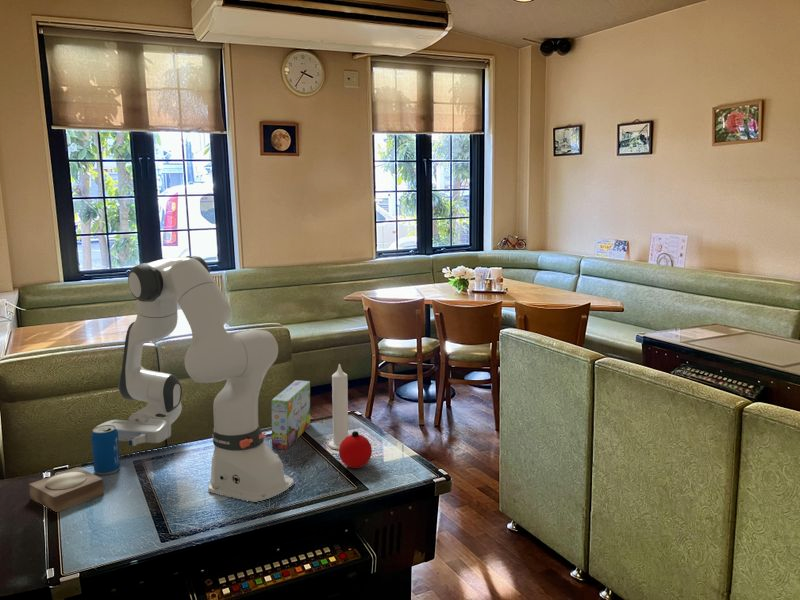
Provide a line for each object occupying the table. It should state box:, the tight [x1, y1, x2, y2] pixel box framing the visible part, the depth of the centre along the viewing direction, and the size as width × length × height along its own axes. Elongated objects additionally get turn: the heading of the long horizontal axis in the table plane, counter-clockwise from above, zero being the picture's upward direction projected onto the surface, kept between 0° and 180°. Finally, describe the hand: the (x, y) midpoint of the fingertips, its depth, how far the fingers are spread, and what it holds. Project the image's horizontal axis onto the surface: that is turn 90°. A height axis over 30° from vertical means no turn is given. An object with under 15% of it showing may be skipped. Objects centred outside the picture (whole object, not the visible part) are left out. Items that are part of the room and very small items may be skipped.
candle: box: [328, 363, 349, 451], centre depth 188 cm, size 7×7×25 cm
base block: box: [28, 466, 105, 513], centre depth 158 cm, size 12×12×4 cm
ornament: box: [338, 430, 373, 469], centre depth 175 cm, size 9×9×10 cm
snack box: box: [270, 379, 311, 450], centre depth 197 cm, size 21×6×15 cm, turn 170°
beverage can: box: [90, 425, 121, 476], centre depth 172 cm, size 6×6×12 cm
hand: (115, 441), depth 176 cm, fingers open, 8 cm apart
